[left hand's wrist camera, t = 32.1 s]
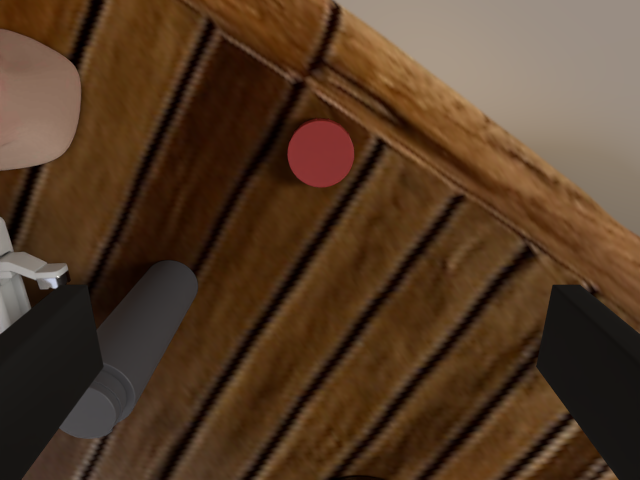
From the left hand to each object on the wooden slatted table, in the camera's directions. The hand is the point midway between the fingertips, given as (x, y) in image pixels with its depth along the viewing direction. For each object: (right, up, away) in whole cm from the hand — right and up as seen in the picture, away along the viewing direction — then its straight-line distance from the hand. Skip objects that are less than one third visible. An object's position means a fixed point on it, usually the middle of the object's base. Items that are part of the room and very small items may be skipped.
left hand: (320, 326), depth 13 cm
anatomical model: (-26, +14, +25) cm, 39 cm away
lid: (0, +10, +25) cm, 27 cm away
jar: (-14, -2, +31) cm, 34 cm away
